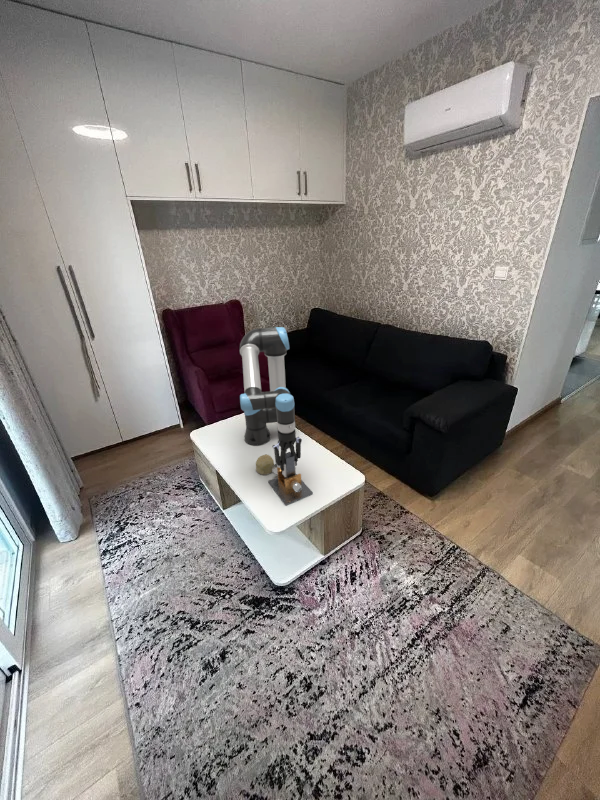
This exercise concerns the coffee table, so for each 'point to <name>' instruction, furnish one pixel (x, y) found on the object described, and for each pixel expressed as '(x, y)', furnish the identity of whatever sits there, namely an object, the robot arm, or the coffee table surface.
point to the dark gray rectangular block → (289, 465)
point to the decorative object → (264, 464)
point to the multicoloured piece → (289, 487)
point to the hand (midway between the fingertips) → (289, 473)
